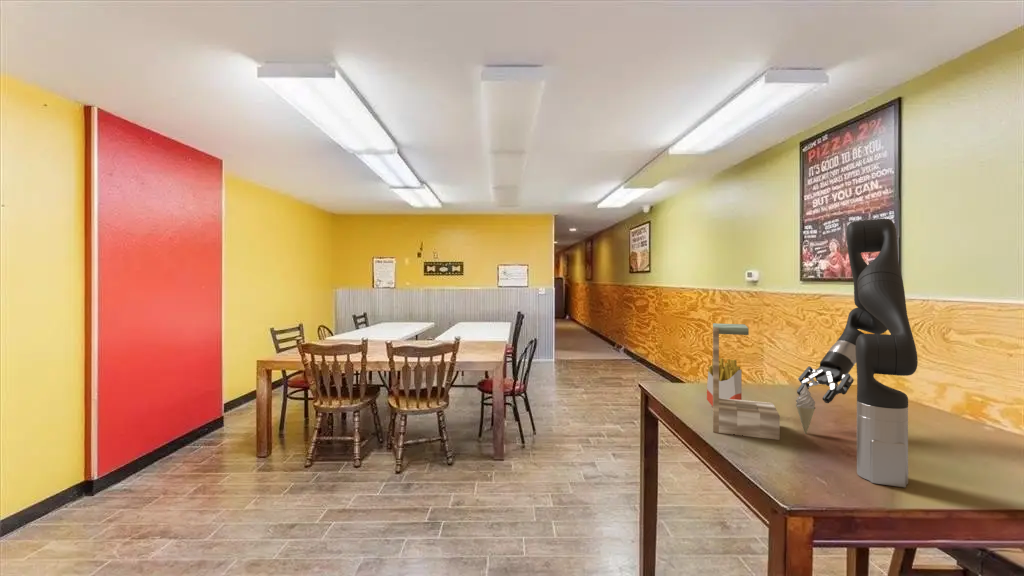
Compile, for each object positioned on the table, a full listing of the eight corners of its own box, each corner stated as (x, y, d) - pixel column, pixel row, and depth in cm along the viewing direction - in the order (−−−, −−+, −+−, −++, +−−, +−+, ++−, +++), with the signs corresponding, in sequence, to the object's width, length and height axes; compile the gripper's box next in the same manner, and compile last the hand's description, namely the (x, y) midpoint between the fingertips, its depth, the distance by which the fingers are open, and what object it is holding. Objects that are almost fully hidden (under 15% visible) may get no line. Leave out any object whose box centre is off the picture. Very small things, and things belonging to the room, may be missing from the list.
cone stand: (779, 439, 132) (779, 329, 132) (713, 432, 139) (713, 327, 139) (772, 424, 146) (772, 325, 146) (712, 418, 153) (712, 323, 153)
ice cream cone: (809, 430, 140) (809, 382, 140) (819, 436, 135) (819, 385, 135) (792, 430, 140) (792, 381, 140) (801, 435, 135) (801, 385, 135)
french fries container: (734, 413, 160) (734, 361, 160) (706, 406, 169) (706, 357, 169) (741, 411, 163) (741, 360, 163) (713, 404, 172) (713, 356, 172)
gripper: (813, 347, 148) (784, 385, 144) (857, 353, 134) (827, 395, 131) (825, 363, 149) (798, 400, 146) (870, 370, 135) (841, 412, 132)
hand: (811, 397), depth 138 cm, fingers open, 8 cm apart
